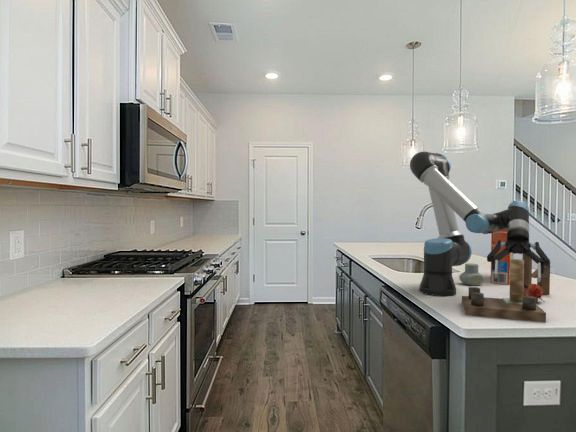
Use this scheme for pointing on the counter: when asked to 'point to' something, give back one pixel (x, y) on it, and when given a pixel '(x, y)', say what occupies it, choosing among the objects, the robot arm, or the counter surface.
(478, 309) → the wooden board with knobs
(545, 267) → the brown wooden angled piece
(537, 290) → the pomegranate
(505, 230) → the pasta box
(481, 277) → the air freshener
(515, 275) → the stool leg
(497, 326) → the counter surface
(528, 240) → the robot arm
